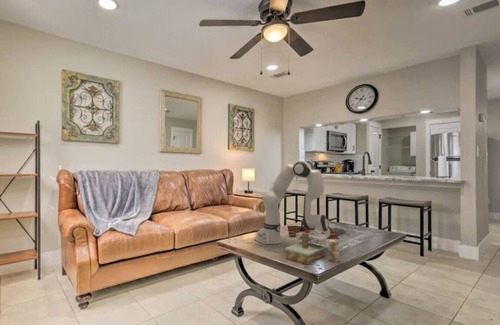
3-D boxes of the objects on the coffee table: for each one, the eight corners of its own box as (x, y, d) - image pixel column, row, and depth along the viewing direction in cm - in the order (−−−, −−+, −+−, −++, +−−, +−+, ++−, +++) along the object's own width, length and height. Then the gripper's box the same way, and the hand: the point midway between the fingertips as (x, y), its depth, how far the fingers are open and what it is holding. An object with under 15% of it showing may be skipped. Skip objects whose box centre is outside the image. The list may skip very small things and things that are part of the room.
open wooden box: (286, 257, 173) (286, 250, 173) (302, 250, 187) (302, 243, 187) (307, 264, 162) (308, 256, 162) (323, 256, 176) (323, 248, 176)
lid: (285, 249, 172) (285, 234, 172) (302, 243, 188) (302, 228, 188) (308, 256, 161) (308, 239, 161) (324, 248, 176) (325, 233, 176)
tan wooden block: (328, 260, 170) (328, 241, 170) (331, 258, 173) (332, 239, 173) (335, 262, 166) (335, 242, 167) (338, 260, 170) (338, 241, 170)
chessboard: (329, 227, 257) (329, 216, 257) (339, 239, 217) (339, 226, 217) (287, 226, 261) (287, 215, 261) (289, 238, 221) (289, 224, 221)
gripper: (302, 229, 191) (291, 232, 181) (328, 234, 177) (318, 238, 167) (301, 237, 191) (291, 241, 181) (328, 244, 177) (318, 248, 167)
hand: (304, 240), depth 174 cm, fingers open, 8 cm apart
